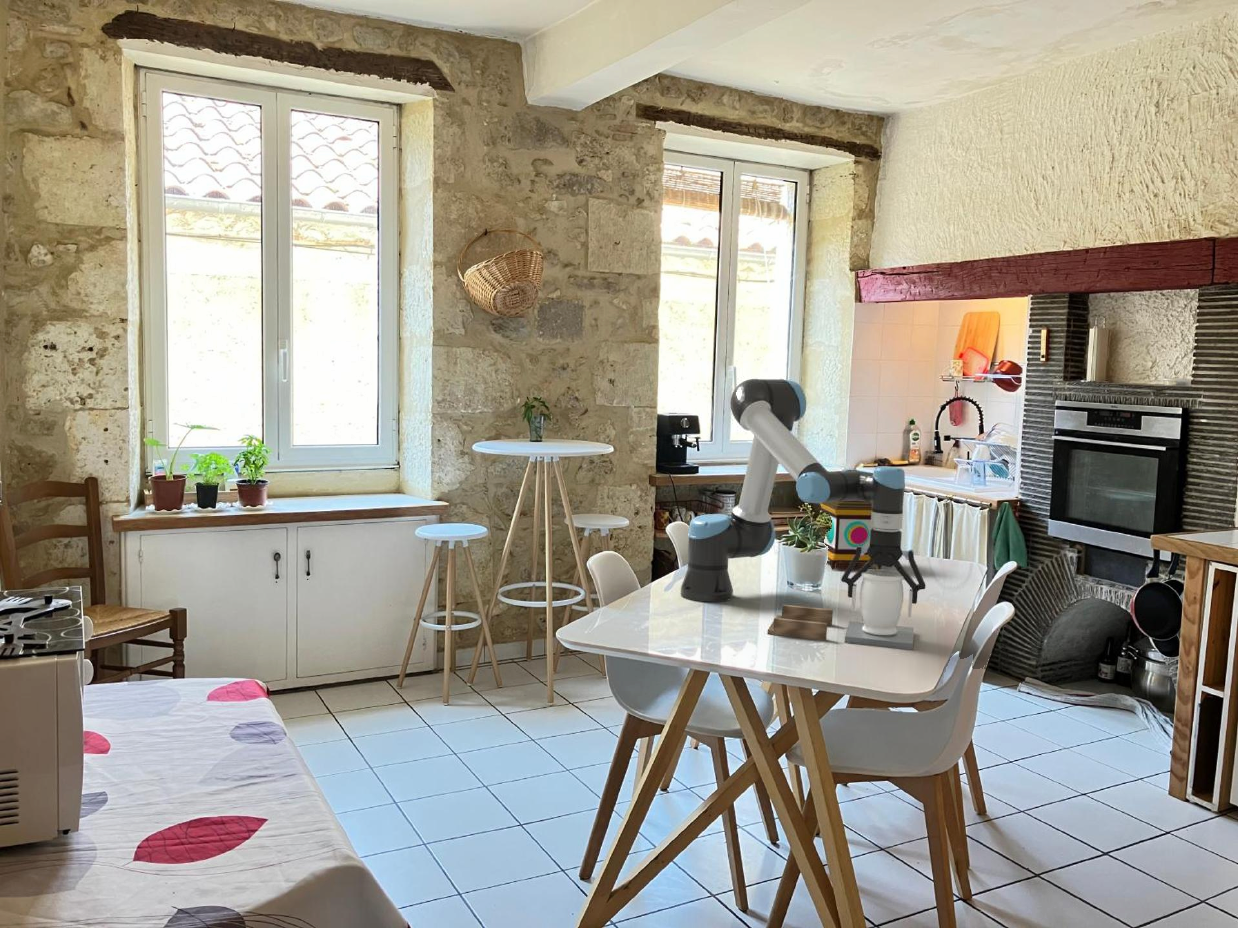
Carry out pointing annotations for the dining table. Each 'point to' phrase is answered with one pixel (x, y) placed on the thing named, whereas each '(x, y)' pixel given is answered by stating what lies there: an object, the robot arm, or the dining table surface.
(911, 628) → the plate
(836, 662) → the dining table surface
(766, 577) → the dining table surface
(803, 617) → the brown wooden u-shaped frame
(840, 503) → the decorative lantern
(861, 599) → the jar
